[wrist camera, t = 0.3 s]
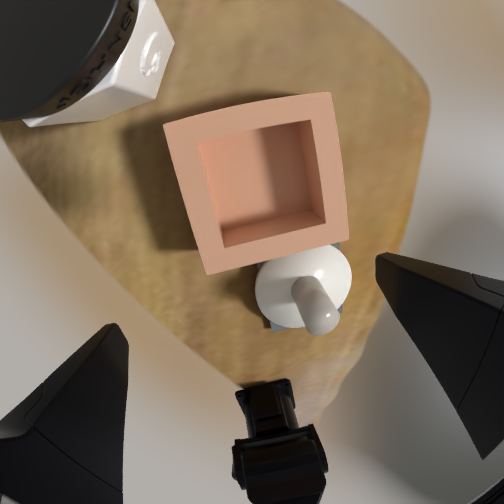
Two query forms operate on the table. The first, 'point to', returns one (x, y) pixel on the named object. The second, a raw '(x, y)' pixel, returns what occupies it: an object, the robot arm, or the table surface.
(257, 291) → the lid
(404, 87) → the table surface
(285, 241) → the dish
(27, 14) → the jar
